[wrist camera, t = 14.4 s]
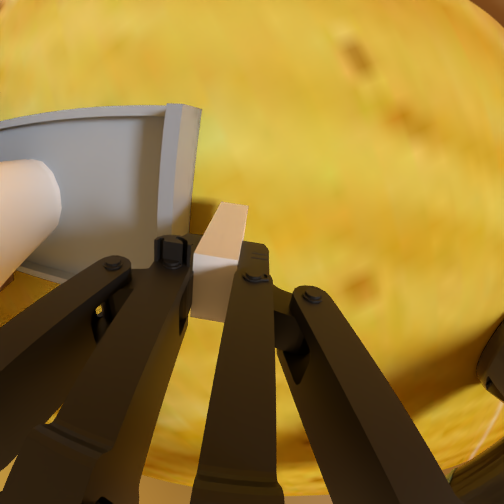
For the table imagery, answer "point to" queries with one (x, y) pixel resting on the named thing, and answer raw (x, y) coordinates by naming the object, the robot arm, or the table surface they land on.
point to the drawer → (109, 180)
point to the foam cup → (25, 211)
